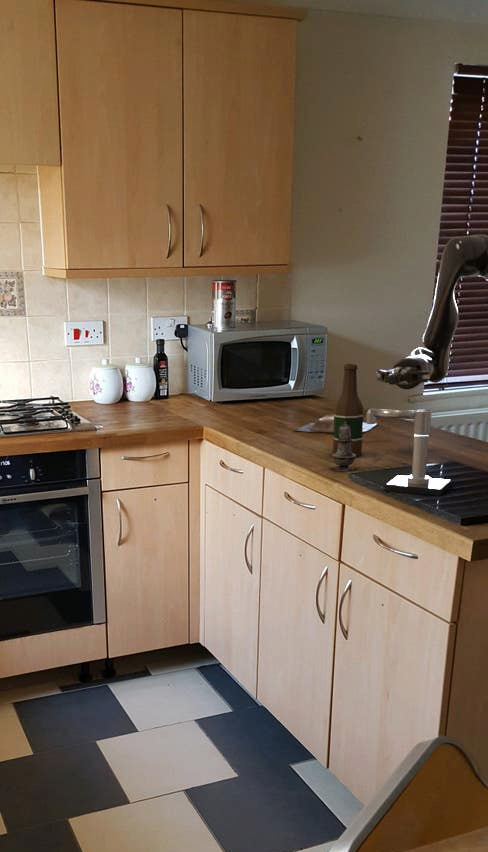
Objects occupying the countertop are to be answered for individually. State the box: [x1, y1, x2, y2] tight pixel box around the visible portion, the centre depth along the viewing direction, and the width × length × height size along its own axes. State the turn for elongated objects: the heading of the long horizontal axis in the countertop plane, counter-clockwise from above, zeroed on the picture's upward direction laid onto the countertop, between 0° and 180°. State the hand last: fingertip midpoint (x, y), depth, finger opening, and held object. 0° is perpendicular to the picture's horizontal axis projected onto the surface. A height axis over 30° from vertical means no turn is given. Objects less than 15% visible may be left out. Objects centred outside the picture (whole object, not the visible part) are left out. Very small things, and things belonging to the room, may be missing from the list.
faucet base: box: [385, 434, 451, 497], centre depth 196 cm, size 12×10×12 cm
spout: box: [365, 408, 433, 436], centre depth 195 cm, size 14×4×5 cm, turn 61°
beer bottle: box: [332, 363, 364, 458], centre depth 233 cm, size 8×8×24 cm
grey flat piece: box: [296, 413, 378, 434], centre depth 278 cm, size 21×20×4 cm
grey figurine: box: [331, 421, 357, 472], centre depth 217 cm, size 6×6×12 cm
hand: (392, 379), depth 202 cm, fingers closed
